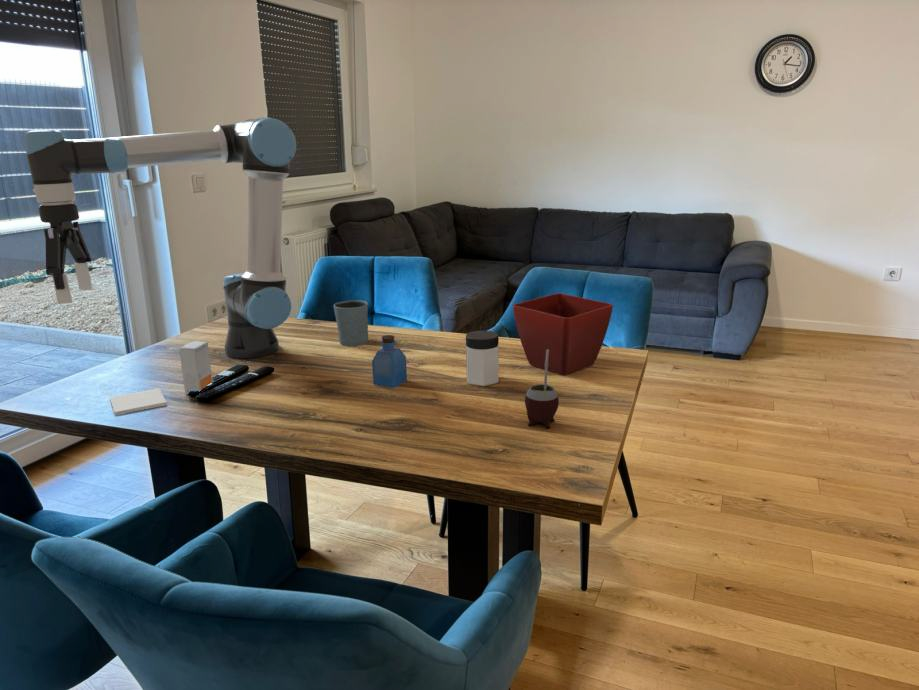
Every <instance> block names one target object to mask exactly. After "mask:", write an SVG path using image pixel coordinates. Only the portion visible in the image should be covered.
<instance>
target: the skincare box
mask: <svg viewBox="0 0 919 690" xmlns="http://www.w3.org/2000/svg"><path fill="white" fill-rule="evenodd" d="M209 349H210V348H209V342H208V341H195V340H193V341H190V342H188V343H186V344H184V345H183V346H180V347H179V348H178V350H179V359H180V365H181V371H182V372H181V373H182V379H183V385H184V386H183V388H184V393H185V395H188V392H189V391H191V390H197V391H199V392H200V391H201V390H202V389H203V388H205V387H206V386H207V385H208V384H210V383H212V382H213V375H212V367H211V359H210V358H211V357H210V350H209Z"/></svg>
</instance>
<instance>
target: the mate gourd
mask: <svg viewBox="0 0 919 690" xmlns="http://www.w3.org/2000/svg"><path fill="white" fill-rule="evenodd" d="M548 356H549V349H547V350H546V360H545V366H544V367H545V369H544V378H543V384H534V385H532V386H530V387H529V388H528V390H527V391H526V392H525V393H526V394H525V397H524V405H525V408H526V414H527V419H528V423H527V426H528V427H529V428H531V427H535V426H542V427H543V428H544V429H546V430H550V429H551V426H550V423H555V421H556V419H555V418H554V417H555V415H556V412H557V411H558V408H559V405H560V404H559V403H560V402H559V394H558V392H557V390H556V389H555V388H554V387H553V386H552V385H548Z"/></svg>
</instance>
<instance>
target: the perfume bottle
mask: <svg viewBox="0 0 919 690" xmlns="http://www.w3.org/2000/svg"><path fill="white" fill-rule="evenodd" d="M380 342H381V344H380V346H381V347H382V348H380V349H378V350H377V351H376V353H375V355H374V357H373V358H372V360H371V366H372V368H371V369H372V385H374V386H379V387H386V388H394V389H395V388H397V387H399V386H400V385H401V384H403V383H405V382H406V381H407V380H408V378H407V377H408V372H407V356H406V355H405V354H404V352H403V351H402V349H401V348H400V347H395V346H396V340H395V335H391V334H385V335H382V336H381V341H380Z"/></svg>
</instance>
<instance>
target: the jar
mask: <svg viewBox="0 0 919 690" xmlns="http://www.w3.org/2000/svg"><path fill="white" fill-rule="evenodd" d="M499 343H500V342H499V334H498V333H497V332H495V331H491V330H474V331H471V332H467V333H466V335H465V357H466V358H465V359H466V360H465V363H466V365H465V366H466V383H467V384H468V385H472V386H473V385H474V386H479V387H486V386H490V385H495V384H498V383H499V375H500V371H499V367H500V364H499V363H500V357H499V353H500V352H499Z"/></svg>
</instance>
